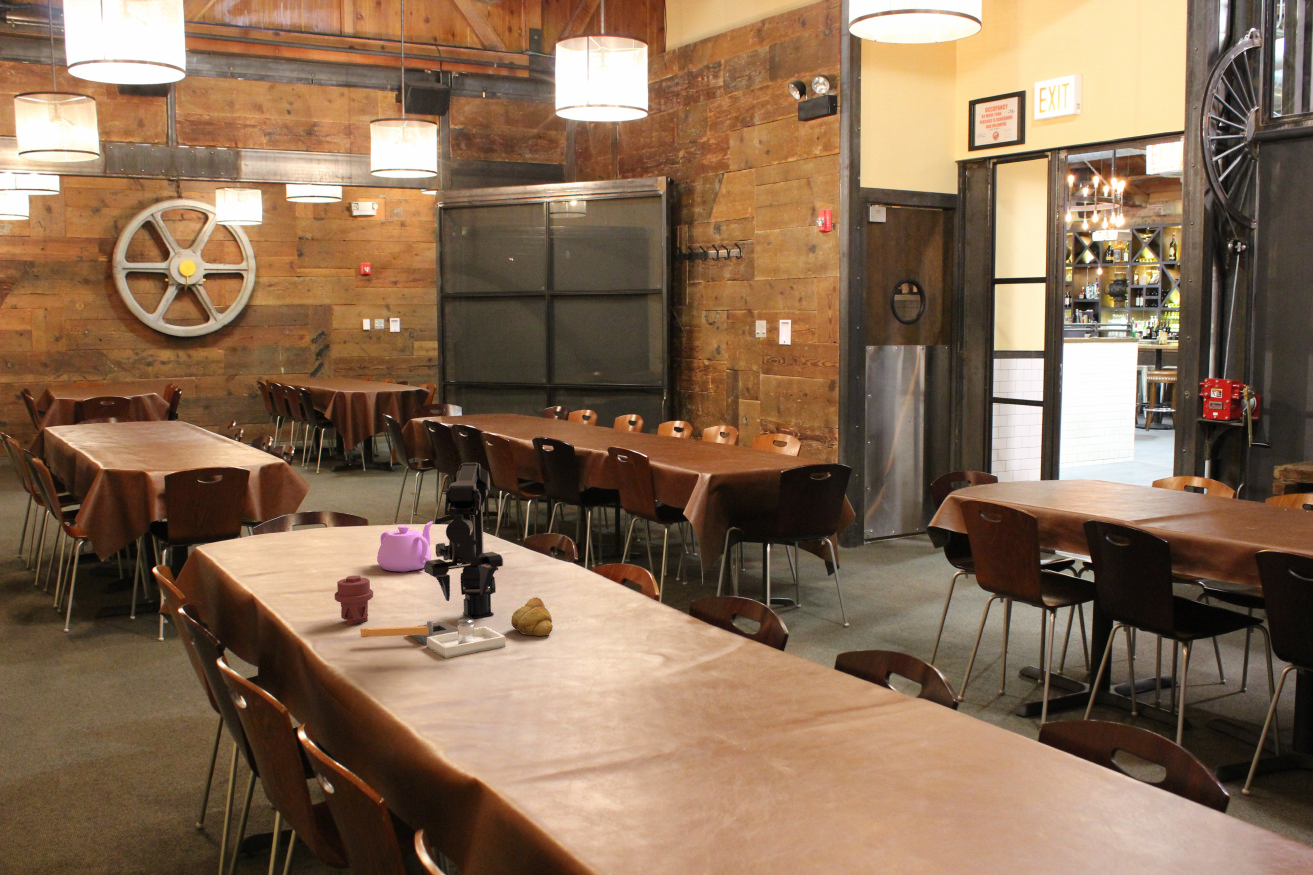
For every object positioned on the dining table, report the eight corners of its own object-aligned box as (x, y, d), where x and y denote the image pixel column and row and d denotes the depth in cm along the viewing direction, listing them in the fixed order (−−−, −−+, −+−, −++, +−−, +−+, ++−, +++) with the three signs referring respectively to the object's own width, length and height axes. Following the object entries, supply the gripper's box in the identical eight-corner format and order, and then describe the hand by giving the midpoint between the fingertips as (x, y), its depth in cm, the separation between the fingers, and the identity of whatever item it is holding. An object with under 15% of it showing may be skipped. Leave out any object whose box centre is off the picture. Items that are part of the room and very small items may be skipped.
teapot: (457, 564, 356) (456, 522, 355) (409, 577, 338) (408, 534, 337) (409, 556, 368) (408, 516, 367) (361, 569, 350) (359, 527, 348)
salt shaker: (470, 640, 270) (469, 617, 269) (477, 644, 266) (476, 621, 266) (455, 643, 267) (454, 620, 267) (462, 647, 264) (461, 623, 264)
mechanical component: (380, 617, 293) (363, 628, 283) (346, 616, 295) (328, 626, 285) (379, 573, 292) (361, 582, 282) (345, 571, 294) (326, 580, 284)
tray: (485, 635, 276) (485, 626, 276) (505, 646, 267) (505, 636, 267) (427, 646, 267) (426, 637, 267) (445, 658, 258) (445, 648, 258)
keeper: (361, 635, 269) (360, 623, 268) (433, 632, 271) (433, 620, 271) (360, 637, 267) (359, 625, 266) (432, 635, 269) (432, 622, 269)
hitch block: (444, 628, 282) (444, 621, 282) (460, 637, 274) (460, 630, 274) (408, 635, 277) (408, 627, 276) (423, 644, 269) (423, 637, 268)
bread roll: (560, 635, 276) (560, 605, 275) (525, 641, 271) (524, 610, 270) (540, 623, 287) (539, 594, 286) (506, 628, 282) (505, 599, 281)
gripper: (483, 526, 276) (484, 585, 277) (414, 534, 265) (416, 596, 267) (503, 533, 267) (504, 594, 268) (432, 542, 256) (434, 606, 258)
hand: (464, 597), depth 265 cm, fingers open, 9 cm apart
